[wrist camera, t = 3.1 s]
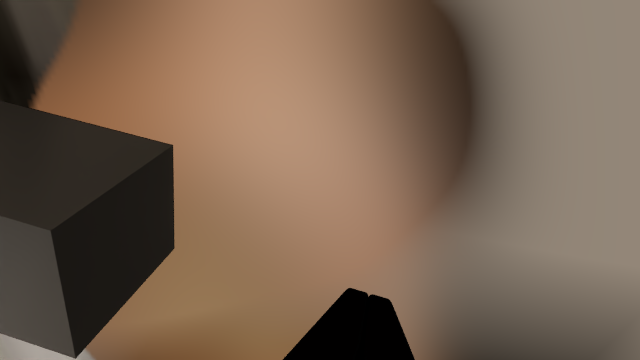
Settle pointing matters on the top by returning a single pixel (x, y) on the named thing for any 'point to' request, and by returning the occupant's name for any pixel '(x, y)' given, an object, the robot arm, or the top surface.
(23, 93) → the top surface
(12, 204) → the plug
